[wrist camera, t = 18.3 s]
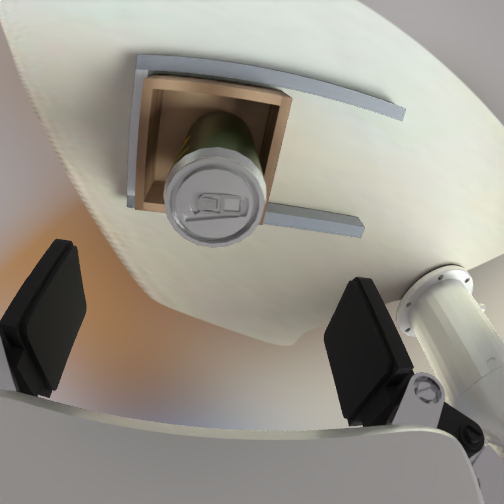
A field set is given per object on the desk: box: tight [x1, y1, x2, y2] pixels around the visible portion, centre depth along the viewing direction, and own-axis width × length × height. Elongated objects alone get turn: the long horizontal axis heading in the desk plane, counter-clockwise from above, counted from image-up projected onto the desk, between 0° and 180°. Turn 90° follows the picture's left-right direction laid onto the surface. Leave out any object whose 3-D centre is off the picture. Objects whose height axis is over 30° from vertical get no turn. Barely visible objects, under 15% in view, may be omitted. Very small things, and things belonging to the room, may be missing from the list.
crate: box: [135, 74, 292, 225], centre depth 24 cm, size 10×10×5 cm
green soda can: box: [163, 111, 267, 247], centre depth 21 cm, size 5×5×12 cm
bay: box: [127, 54, 406, 238], centre depth 26 cm, size 22×13×2 cm, turn 79°
